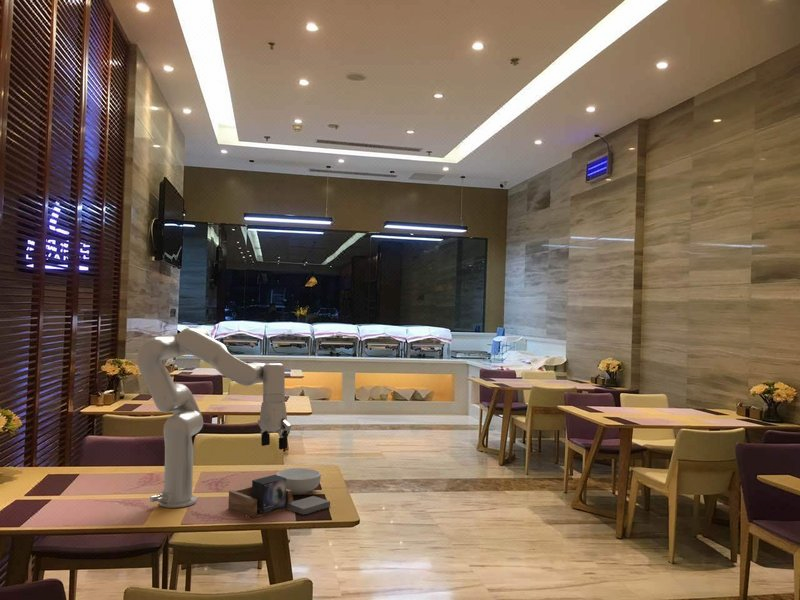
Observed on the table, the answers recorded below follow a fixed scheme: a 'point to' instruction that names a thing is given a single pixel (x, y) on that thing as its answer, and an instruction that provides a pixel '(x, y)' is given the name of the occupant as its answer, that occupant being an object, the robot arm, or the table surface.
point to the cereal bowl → (300, 479)
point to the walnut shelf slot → (250, 502)
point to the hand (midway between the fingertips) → (274, 446)
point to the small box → (269, 493)
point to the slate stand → (308, 505)
